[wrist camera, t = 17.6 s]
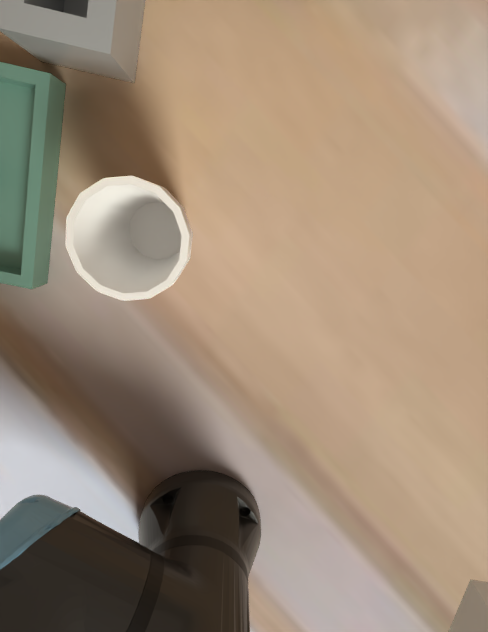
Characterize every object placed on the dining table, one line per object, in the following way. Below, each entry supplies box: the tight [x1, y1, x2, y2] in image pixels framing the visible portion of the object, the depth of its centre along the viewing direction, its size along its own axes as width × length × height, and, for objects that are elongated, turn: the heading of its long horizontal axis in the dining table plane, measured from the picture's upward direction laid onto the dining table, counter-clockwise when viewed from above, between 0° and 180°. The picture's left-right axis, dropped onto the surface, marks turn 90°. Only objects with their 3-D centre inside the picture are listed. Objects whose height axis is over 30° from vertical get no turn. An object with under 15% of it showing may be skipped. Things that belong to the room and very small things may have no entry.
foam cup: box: [65, 176, 193, 301], centre depth 38 cm, size 10×9×13 cm
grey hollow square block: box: [0, 0, 145, 83], centre depth 36 cm, size 9×9×8 cm
